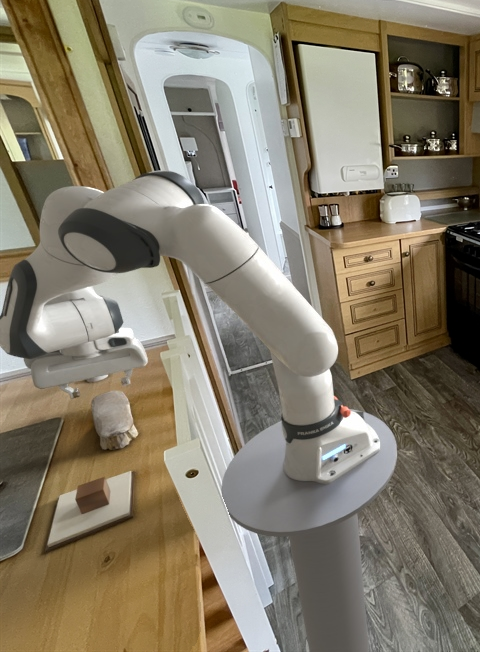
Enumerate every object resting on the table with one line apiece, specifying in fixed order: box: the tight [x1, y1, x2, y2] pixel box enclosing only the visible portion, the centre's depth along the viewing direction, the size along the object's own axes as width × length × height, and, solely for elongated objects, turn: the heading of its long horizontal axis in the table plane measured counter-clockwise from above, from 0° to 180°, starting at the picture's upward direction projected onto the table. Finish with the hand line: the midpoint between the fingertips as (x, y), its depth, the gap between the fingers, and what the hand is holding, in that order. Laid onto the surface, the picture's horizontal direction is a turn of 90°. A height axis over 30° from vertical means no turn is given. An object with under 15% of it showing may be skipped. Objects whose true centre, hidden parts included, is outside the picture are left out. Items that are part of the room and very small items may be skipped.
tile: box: [44, 470, 136, 553], centre depth 76 cm, size 12×14×1 cm
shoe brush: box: [90, 390, 139, 451], centre depth 98 cm, size 24×8×5 cm, turn 47°
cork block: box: [75, 476, 111, 514], centre depth 75 cm, size 4×4×4 cm
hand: (102, 390), depth 95 cm, fingers open, 8 cm apart
